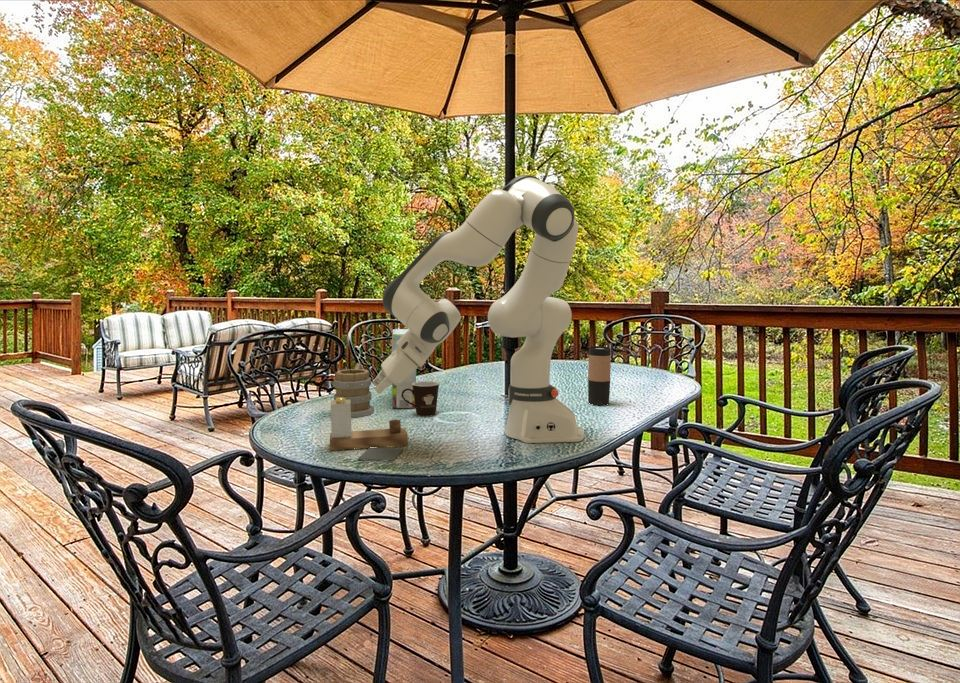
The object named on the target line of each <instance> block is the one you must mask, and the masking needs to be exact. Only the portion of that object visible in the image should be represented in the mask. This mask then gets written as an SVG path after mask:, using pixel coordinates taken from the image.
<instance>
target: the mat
mask: <svg viewBox="0 0 960 683" xmlns="http://www.w3.org/2000/svg"><path fill="white" fill-rule="evenodd" d="M403 451H404V448H395V447H394V448H393V447H391V448H390V447H382V448H368V449H366V450H365V451H364V452H363V453H362V454H361V455H360V456H359V457H358V458H357V460H358V459H368V460H388V461H387V462H391V461H394V460H395V459H396V460H397V458H398V457H399V456H400V455H401V454H402V453H403ZM400 453H401V454H400ZM399 454H400V455H399ZM398 455H399V456H398ZM397 456H398V457H397ZM396 457H397V458H396ZM396 460H395V461H396ZM395 461H394V462H395Z"/></svg>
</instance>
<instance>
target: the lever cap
mask: <svg viewBox="0 0 960 683" xmlns="http://www.w3.org/2000/svg"><path fill="white" fill-rule="evenodd" d="M330 427H331V429H330V430H331V432H332V439H333V438H349V437H351V431H352V418H351V401H350V400H345V398H344V397H339V398H336V400H334V399H331V401H330ZM331 432H330V433H331Z"/></svg>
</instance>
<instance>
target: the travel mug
mask: <svg viewBox="0 0 960 683" xmlns="http://www.w3.org/2000/svg"><path fill="white" fill-rule="evenodd" d="M611 349H612V348H611V347H609V346H603V345H602V346H600V345H599V346H597V345H596V346H589V347H588V370H587V372H588V373H587V375H588V376H587V394H588V395H587V398H588V401H587V402H588V404H589V403H590V404H593V405H592V406H594V405H607V404H609V405H610V393H611V392H610V391H611V366H612V365H611V364H612V363H611V360H612V359H611V358H612V357H611V356H612V354H611V353H612V351H611ZM590 404H589V405H590ZM607 406H608V405H607Z"/></svg>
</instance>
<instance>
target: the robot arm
mask: <svg viewBox="0 0 960 683" xmlns="http://www.w3.org/2000/svg"><path fill="white" fill-rule="evenodd" d="M575 214H576V213H575V209H574V206H573V204H572V202H571V201H570V200H569V199H568V198H567V197H566V196H565V195H563V194H561V193H560V192H559V191H558V189H556V188H555V187H554V186H552V184H551V185H550V184H548V183H546V182H544V181H542V180H540V179H539V177H536V176H534V175H531V174H521V175H518V176H516V177H514V178H512V179H511V180H510V181H509V182H507V185H505V186H504V187H503V188H502V189H493V190H491V191H490V192H489V193H487V195H485V196H484V197H483V198H482V199H481V201H480V202H478V204H477V205H476V206H475V207H474V209H473V210H472V211H471V212H470V214H469V215H468V216H467V217H466V219H465V221H463V223H462V224H461V225H460V226H458V228H456V229H455V230H454V231H451V232H450V231H445V232H442V233H441V234H439V235H438V236H436V238H434V239H433V240H432V241H431V242H430V243H429V244H428V245H427V246H426V247H425V248H424V249H423V250H422V251H421V252H420V253H419V255H418V256H417V257H416V258H415V259H414V260H413V261H412V262H411V263H410V264H409V265H408V266H407V267H406V268H405V270H403V271H402V272H401V273H400V274H399V275H398V276H397V277H395V278H394V279H393V280H391V282H389V284H388V285H386V286H385V288H384V289H383V291H382V297H381V298H382V306H383V309H384V311H387V313H389V315H391V316H393V317H394V318H396V319H397V320H398V321H399V322H400V323H401V324H402V325H403V326H405V327H406V329H409V330H408V331H409V332H408V331H407V332H406V333H405V334H404V335H403V336H402V337H401V338H400V339H399V340H398V341H397V342H396V344H397V345H398V346H399V347H398V348H397V349H396V350H395V351H394V352H393V353H392V352H391V353H390V354H389V355H388V356H387V358H385V359H384V361H382V363H381V364H380V367H381V368H382V369H381V370H380V371H379V373H377V375H376V377H375V378H374V379H373V380H372V385H374V386H375V387H374V389H375V392H377V393H378V394H379V395H380V394H382V393H383V392H384V390H386V389H387V388H389V387H391V386H392V383H394V384H395V385H398V384H400V383H402V382H403V381H404V380H405V379H406V378H407V377H408V376H409V375H411V374H412V373H413V372H414V371H415V370H416V371H417V369H418V368H421V367H423V366H424V365H425V364H426V363H427V362H426V361H427V360H428V358H429V357H430V356H431V355H432V354H433V352H434V351H435V349H436V347H437V346H438V345H440V344H442V343H443V342H444V341H446V339H447V338H449V336H450V334H451V333H452V332H453V331H454V330H455V329H456V327H457V326H458V324H459V323H460V321H461V320H462V319H461V318H462V315H461V312H460V310H459V309H458V308H457V306H456V305H455V304H454V303H453V302H452V301H450V300H449V299H448V298H441V299H440V300H439V301H435V300H433V299H432V298H431V297H430V296H429V295H428V294H426V293H425V292H424V290H422V289H421V287H420V284H421V282H422V281H423V280H424V279H425V278H426V277H427V276H428V275H429V274H430V273H431V272H432V271H433V270H434V269H435V268H436V267H437V265H439V264H440V263H442V262H445V261H452V262H455V263H458V264H462V265H465V266H470V267H482V266H485V265H486V266H487V265H489V264H490V263H491V262H492V261H493V260H495V258H496V257H497V256H498V255H499V253H500V252H501V250H502V249H503V248H504V246H505V245H506V244H507V242H508V241H509V239H510V238H511V236H512V234H513V233H514V232H515V231H516V230H517V229H520V227H523V226H526V227H528V228H529V229H531V230H532V231H534V232H535V233H534V234H535V235H534V237H533V241H532V243H531V247H530V249H529V253H528V256H527V259H526V262H525V265H524V267H523V269H522V272H521V274H520V276H519V278H518V279H517V281H516V283H515V282H514V285H513V286H512V287H511V288H510V289H509V290H508V291H507V293H506V294H504V295H503V296H502V297H500V298H499V299H497V300H495V301H494V302H493V303H492V304H491V305H490V307H489V309H488V312H487V323H488V325H489V328H490V329H491V331H492V332H493V333H494V334H495V335H497V336H499V337H506V338H525V340H524V343H523V344H522V346H521V347H520V348H519V349H518V350H517V351H516V352H514V353H513V355H512V356H511V358H510V376H509V377H510V384H509V385H508V390H507V391H508V398H507V399H508V400H507V401H508V405H509V408H508V409H509V410H508V415H507V422H506V425H505V428H504V429H505V430H504V435H505V436H507V437H509V438H511V439H515V440H518V441H521V442H523V443H525V444H534V443H535V444H536V443H537V444H539V443H542V444H543V443H577V442H580V441H583V440H584V439H585V431H584V429H583V428H582V427H581V426H578V424H577V420H576V416H575V414H574V411H573V410H572V409H571V408H569V407H568V406H566V405H565V404H564V403H563V402H562V401H560V399H558V396H559V390H558V388H556V386H553V385H552V384H550V374H551V362H552V361H551V360H552V354H553V352H554V348H555V346H556V344H557V342H558V340H559V339H560V337H561V336H562V334H564V332H565V331H567V329H568V328H569V326H570V325H571V322H572V319H573V318H572V315H573V313H572V309H571V306H570V305H569V303H568V302H567V301H566V300H565V299H561V298H557V297H554V296H551V295H553V294H554V293H556V292H557V291H558V290H560V289H561V288H562V286H563V285H564V282H565V280H566V276H567V273H568V272H569V271H568V270H569V267H570V264H571V262H572V260H573V259H572V258H573V257H574V256H573V255H574V254H575V249H576V244H577V239H578V233H579V232H578V231H579V224H578V221H577V220H576V217H575V216H576V215H575Z"/></svg>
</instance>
